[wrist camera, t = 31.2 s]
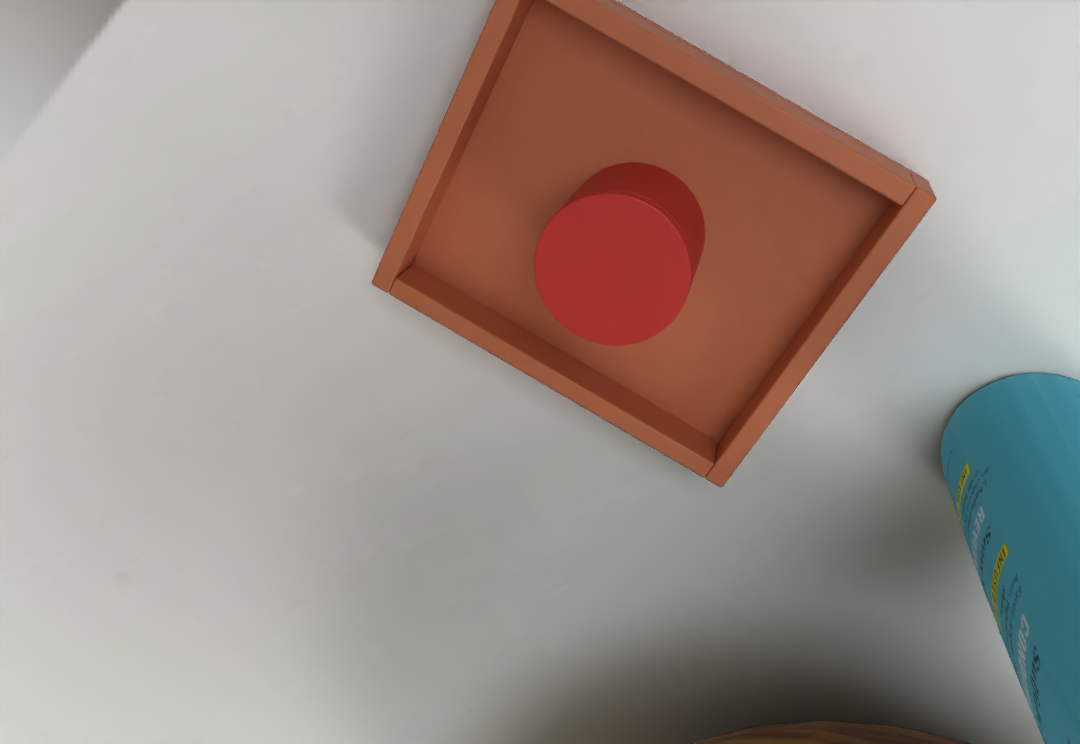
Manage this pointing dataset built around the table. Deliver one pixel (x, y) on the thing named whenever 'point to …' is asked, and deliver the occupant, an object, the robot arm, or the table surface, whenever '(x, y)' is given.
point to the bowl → (827, 735)
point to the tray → (703, 166)
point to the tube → (1026, 530)
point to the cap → (621, 254)
